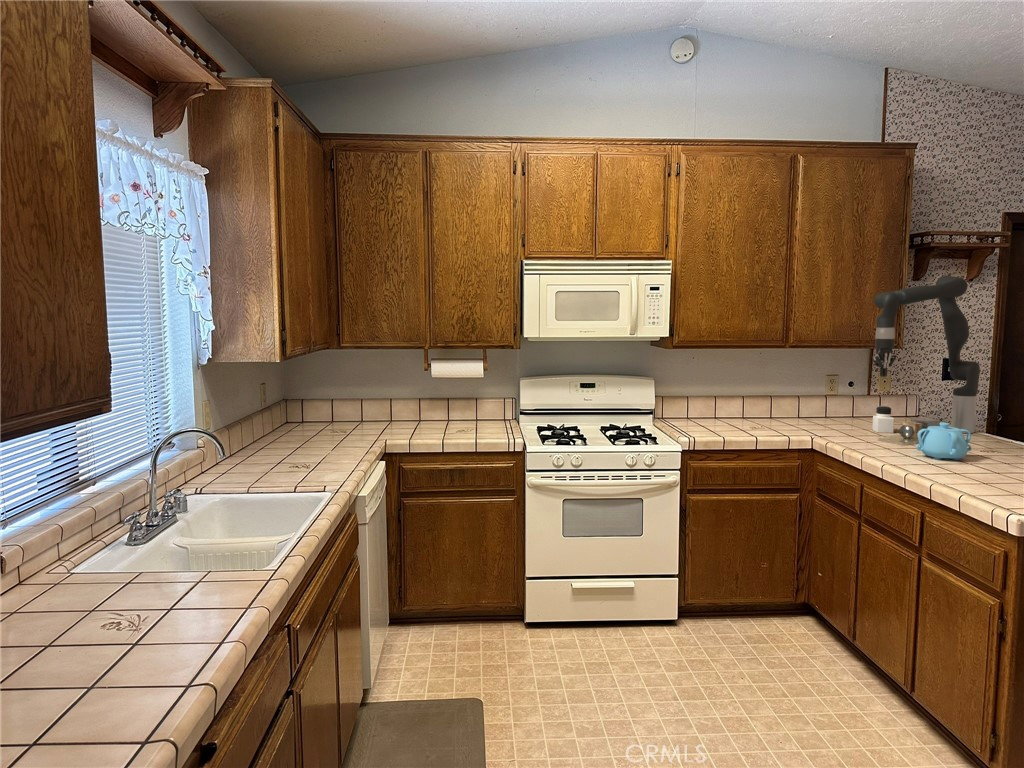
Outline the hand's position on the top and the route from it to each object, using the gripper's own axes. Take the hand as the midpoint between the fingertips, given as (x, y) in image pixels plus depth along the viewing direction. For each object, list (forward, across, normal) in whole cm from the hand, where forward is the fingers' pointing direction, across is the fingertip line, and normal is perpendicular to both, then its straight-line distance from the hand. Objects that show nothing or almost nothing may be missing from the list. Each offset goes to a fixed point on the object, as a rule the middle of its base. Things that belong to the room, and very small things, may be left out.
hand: (883, 376), depth 298 cm
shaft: (+26, +11, -10) cm, 30 cm away
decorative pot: (+28, -14, -39) cm, 50 cm away
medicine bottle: (+28, +14, +10) cm, 33 cm away
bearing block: (+28, +6, -10) cm, 30 cm away
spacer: (+26, +6, -10) cm, 29 cm away
